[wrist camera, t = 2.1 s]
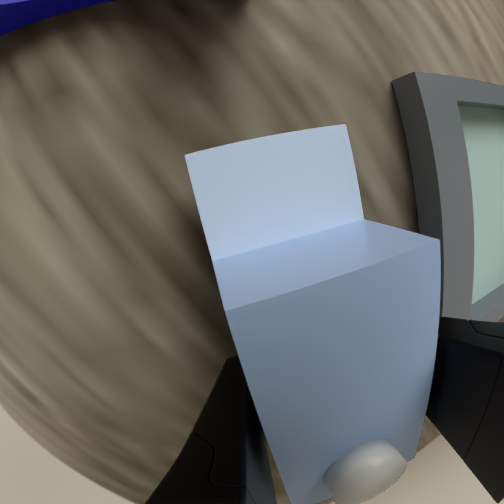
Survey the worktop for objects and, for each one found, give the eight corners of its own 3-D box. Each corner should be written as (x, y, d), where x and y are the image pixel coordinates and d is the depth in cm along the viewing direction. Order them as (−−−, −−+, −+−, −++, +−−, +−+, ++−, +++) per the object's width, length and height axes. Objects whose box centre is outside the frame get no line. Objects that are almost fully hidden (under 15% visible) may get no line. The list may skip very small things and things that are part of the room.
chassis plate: (513, 95, 10) (530, 93, 9) (525, 278, 13) (540, 284, 12) (391, 81, 9) (414, 71, 8) (419, 349, 12) (437, 363, 10)
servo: (313, 135, 9) (450, 94, 3) (351, 415, 12) (413, 502, 6) (186, 161, 8) (172, 121, 3) (270, 444, 11) (309, 548, 6)
